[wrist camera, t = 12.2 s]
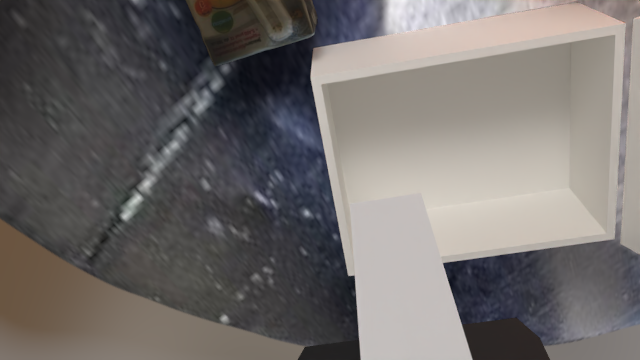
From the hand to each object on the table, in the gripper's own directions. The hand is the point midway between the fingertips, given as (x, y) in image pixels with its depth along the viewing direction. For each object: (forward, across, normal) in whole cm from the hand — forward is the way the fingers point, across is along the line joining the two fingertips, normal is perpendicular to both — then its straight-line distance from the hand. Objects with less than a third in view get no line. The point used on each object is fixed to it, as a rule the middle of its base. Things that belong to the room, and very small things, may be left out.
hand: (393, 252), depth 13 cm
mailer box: (+34, +7, -11) cm, 37 cm away
